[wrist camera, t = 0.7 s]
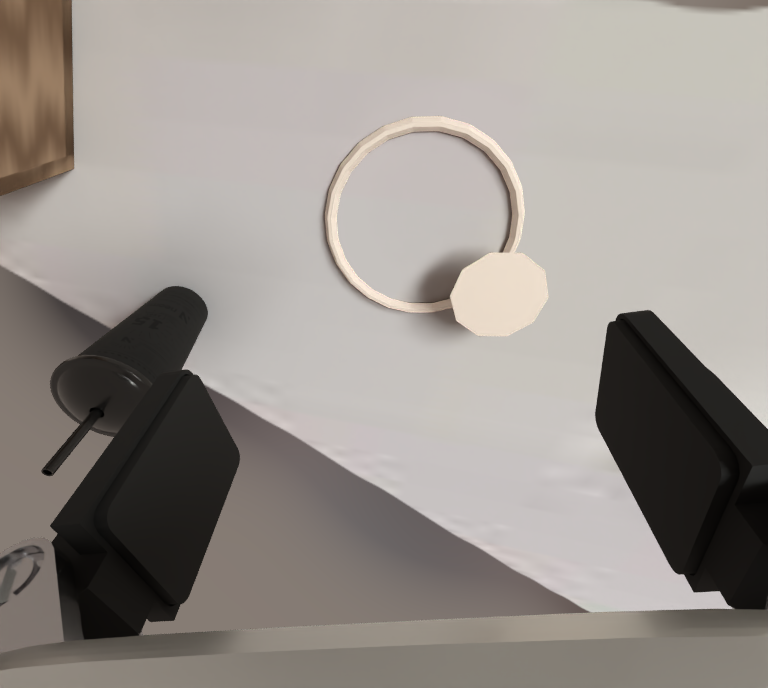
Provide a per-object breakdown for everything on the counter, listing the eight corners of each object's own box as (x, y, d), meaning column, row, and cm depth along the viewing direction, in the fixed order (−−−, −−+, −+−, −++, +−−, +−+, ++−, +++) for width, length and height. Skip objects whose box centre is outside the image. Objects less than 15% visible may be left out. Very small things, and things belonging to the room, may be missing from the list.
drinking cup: (228, 342, 45) (128, 514, 28) (154, 338, 45) (11, 507, 28) (215, 274, 40) (89, 431, 24) (133, 270, 40) (-50, 423, 24)
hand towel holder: (406, 62, 27) (614, 247, 34) (405, 61, 31) (593, 229, 37) (278, 263, 35) (467, 382, 41) (290, 243, 39) (461, 356, 45)
